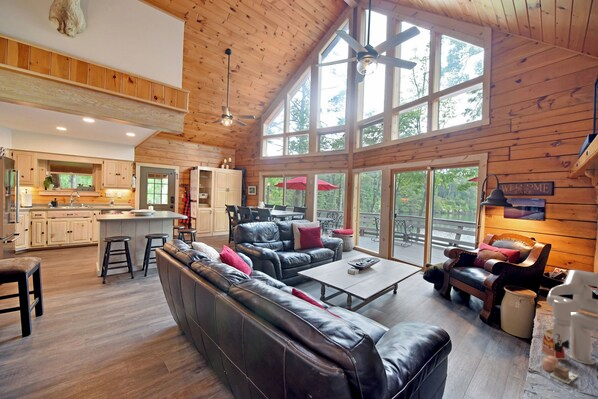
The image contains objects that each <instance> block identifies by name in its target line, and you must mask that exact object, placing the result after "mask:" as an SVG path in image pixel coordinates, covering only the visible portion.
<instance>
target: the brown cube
mask: <svg viewBox="0 0 598 399" xmlns="http://www.w3.org/2000/svg"><path fill="white" fill-rule="evenodd" d="M569 372H570V369H569V368H567V367H565V366H562V365H561V364H559V363H558V364H557V365H556V366H554V375H555V376H558V377H560V378H562V379H564V380H566V379H567V378H569Z"/></svg>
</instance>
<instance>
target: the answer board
mask: <svg viewBox="0 0 598 399" xmlns="http://www.w3.org/2000/svg"><path fill="white" fill-rule="evenodd" d="M549 376H550V377H552V378H554V379H555V380H558V381H560V382H563V383H564V384H566V383H567V384H566V385H570V384H571V383H572V382H573V381H574V380H576V379H578V378H579V376H578V374H575V373H574V372H573V373H572V372H570V371H569V378H567V379H566V380H564V379H562V378H560V377H558V376H555V375H554V372H550V373H549ZM571 381H572V382H571ZM570 382H571V383H570Z"/></svg>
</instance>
